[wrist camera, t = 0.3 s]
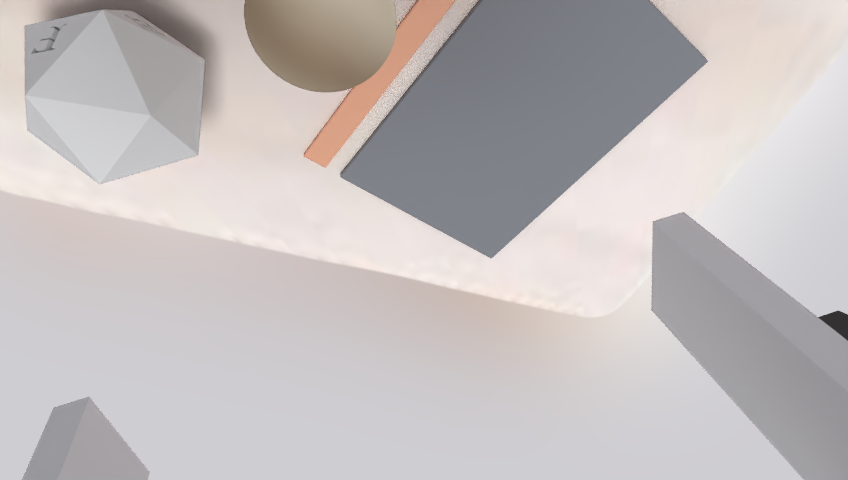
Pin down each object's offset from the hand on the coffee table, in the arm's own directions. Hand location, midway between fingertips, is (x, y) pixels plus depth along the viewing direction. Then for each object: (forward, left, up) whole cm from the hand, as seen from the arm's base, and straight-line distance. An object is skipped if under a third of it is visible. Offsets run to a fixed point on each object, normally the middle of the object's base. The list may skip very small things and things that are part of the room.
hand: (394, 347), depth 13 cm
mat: (+1, +12, -24) cm, 27 cm away
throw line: (+1, +3, -24) cm, 24 cm away
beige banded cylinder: (-1, -3, -24) cm, 24 cm away
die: (+11, -8, -24) cm, 28 cm away
